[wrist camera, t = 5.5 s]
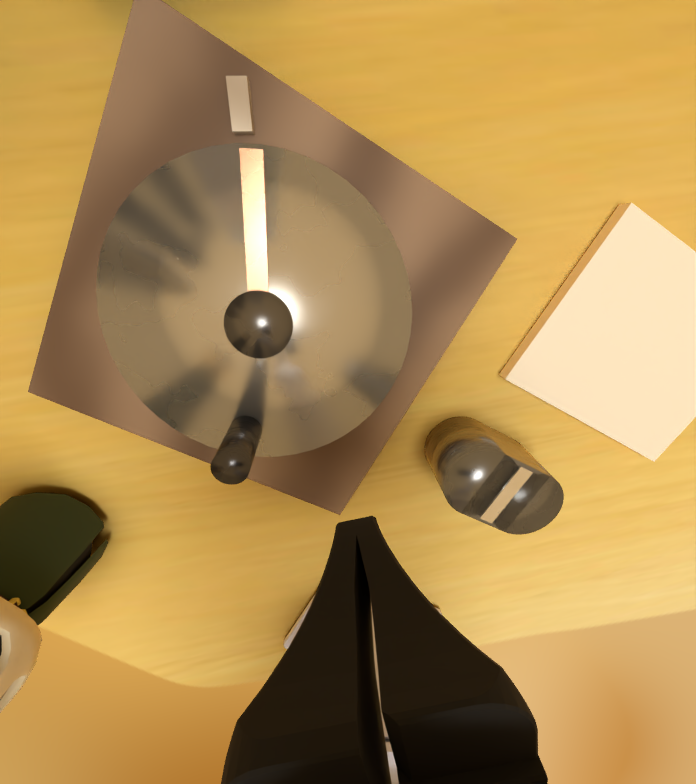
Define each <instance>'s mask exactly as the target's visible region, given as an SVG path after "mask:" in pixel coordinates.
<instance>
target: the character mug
mask: <svg viewBox="0 0 696 784" xmlns="http://www.w3.org/2000/svg"><path fill="white" fill-rule="evenodd" d="M103 528H104V524H103V521H102V520H101V519H100V518H99V517H98V516H97V515H96V514H95V512H94V511H93V510H92V509H91V508H90V507H89V506H87V505H85V504H83V503H82V502H80V501H78V500H76V499H74V498H72V497H70V496H68V495H66V494H52V493H37V492H36V493H31V494H25V495H20V496H14V497H11V498H10V499H9V500H8V501H6V502H5V503H4V504H2V505H1V506H0V712H1V711H2V710H3V709H4V708H5V707H6V706H7V705H8V704H9V703H10V701H11V700H12V699H13V698H14V696H15V695H16V694H17V693H18V692H19V690H20V689H21V688H22V687H23V685H24V683H25V681H26V680H27V678H28V676H29V675H30V673H31V671H32V670H33V668H34V666H35V663H36V660H37V657H38V653H39V649H40V645H41V641H42V638H41V632H40V629H39V628H38V626H37V625H39V624H40V623H42V622H43V621H44V620H45V619H46V618H47V617H48V616H49V615H50V613H51V612H52V611H53V610H54V609H55V608H56V607H57V606H58V605H59V604H60V603H61V602H62V601H63V600H64V599H65V598H66V596H67V595H68V594H69V593H70V592H71V591H72V590H73V589H74V588H75V587H76V586H77V585H78V584H79V583H80V582H81V580H82V579H83V578H84V577H85V576H86V575H87V573H88V572H89V571H90V570H91V569H92V567H93V566H94V565H95V564H96V563H97V562H98V560H99V559H100V558H101V557H102V555H103V552H104V550H105V548H106V546H107V544H108V541H107V539H106V540H105V541H104V542H103V543H102V544H101V545H100V547H99V548H98V549H97V550H96V551H95V552H94V553H93V554H92V556H91V550H92V541H93V540H94V538H95V537H96V536H97V535H98V534H99V533H100V531H101V530H102V529H103ZM90 556H91V557H90Z"/></svg>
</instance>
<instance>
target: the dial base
mask: <svg viewBox="0 0 696 784" xmlns="http://www.w3.org/2000/svg"><path fill="white" fill-rule="evenodd" d="M233 143H245V144H262V145H267V146H273V147H278V148H283V149H286V150H289V151H292V152H295V153H298V154H301V155H304V156H307V157H309V158H311V159H313V160H314V161H316V162H318V163H320V164H322V165H324V166H326V167H328V168H330V169H331V170H332V171H334V172H335V173H337V174H338V175H340V176H341V177H343V178H344V179H345V180H347V181H348V182H349V183H350V184H351V185H352V186H354V187H355V188H356V189H357V190H358V191H359V192H360V193H361V194H362V195H363V196H364V197H365V198H366V199H367V200H368V201H369V202H370V204H371V205H372V206H373V207H374V208H375V210H376V211H377V212H378V213H379V214H380V216H381V218H382V219H383V221H384V222H385V224H386V225H387V227H388V229H389V230H390V232H391V233H392V235H393V237H394V240H395V242H396V244H397V246H398V248H399V250H400V253H401V255H402V258H403V261H404V265H405V268H406V271H407V274H408V280H409V285H410V291H411V302H412V323H411V334H410V339H409V344H408V349H407V353H406V356H405V359H404V362H403V365H402V367H401V370H400V372H399V374H398V376H397V378H396V380H395V382H394V384H393V386H392V388H391V389H390V391H389V392H388V394H387V395H386V397H385V398H384V400H383V401H382V402H381V403H380V405H379V406H378V407H377V408H376V409H375V410H374V411H373V413H372V414H371V415H370V416H369V417H367V418H366V419H365V420H364V421H363V422H362V423H361V424H360V425H358V426H357V427H356V428H354V429H353V430H351V431H350V432H349V433H347V434H346V435H344V436H342V437H341V438H339V439H337V440H335V441H333V442H331V443H329V444H327V445H324V446H321V447H319V448H316V449H314V450H310V451H306V452H302V453H298V454H293V455H286V456H278V457H257V456H254V460H253V463H252V466H251V469H250V472H249V475H248V477H247V478H248V479H250V480H253V481H255V482H258V483H260V484H263V485H265V486H268V487H271V488H273V489H276V490H278V491H281V492H283V493H286V494H288V495H291V496H293V497H296V498H298V499H301V500H304V501H306V502H309V503H311V504H314V505H316V506H319V507H321V508H324V509H326V510H329V511H331V512H334V513H336V514H339V515H340V514H341V512H342V511H343V509H344V508H345V506H346V505H347V503H348V501H349V500H350V498H351V497H352V495H353V494H354V492H355V491H356V489H357V487H358V486H359V484H360V483H361V481H362V480H363V478H364V477H365V475H366V473H367V472H368V470H369V469H370V467H371V466H372V464H373V463H374V461H375V459H376V458H377V456H378V455H379V453H380V452H381V450H382V449H383V447H384V445H385V444H386V442H387V441H388V439H389V438H390V436H391V435H392V433H393V432H394V430H395V428H396V427H397V425H398V424H399V422H400V421H401V419H402V418H403V416H404V414H405V413H406V411H407V410H408V408H409V407H410V405H411V404H412V402H413V400H414V399H415V397H416V396H417V394H418V393H419V391H420V390H421V388H422V386H423V385H424V383H425V382H426V380H427V379H428V377H429V376H430V374H431V372H432V371H433V369H434V368H435V366H436V365H437V363H438V362H439V360H440V358H441V357H442V355H443V354H444V352H445V351H446V349H447V348H448V346H449V344H450V343H451V341H452V340H453V338H454V337H455V335H456V334H457V332H458V330H459V329H460V327H461V326H462V324H463V323H464V321H465V320H466V318H467V316H468V315H469V313H470V312H471V310H472V309H473V307H474V306H475V304H476V302H477V301H478V299H479V298H480V296H481V295H482V293H483V292H484V290H485V288H486V287H487V285H488V284H489V282H490V281H491V279H492V278H493V276H494V274H495V273H496V271H497V270H498V268H499V267H500V265H501V264H502V262H503V260H504V259H505V257H506V256H507V254H508V253H509V251H510V250H511V248H512V246H513V245H514V243H515V242H516V240H517V238H515V237H514V236H512V235H511V234H509V233H508V232H506V231H505V230H503V229H502V228H500V227H499V226H497V225H496V224H494V223H493V222H491V221H490V220H488V219H487V218H485V217H484V216H482V215H481V214H479V213H478V212H476V211H475V210H473V209H472V208H470V207H469V206H467V205H466V204H464V203H463V202H461V201H460V200H458V199H457V198H455V197H454V196H452V195H451V194H449V193H448V192H446V191H445V190H443V189H442V188H440V187H439V186H437V185H436V184H434V183H433V182H431V181H430V180H428V179H427V178H425V177H424V176H423V175H421V174H420V173H418V172H417V171H415V170H414V169H412V168H411V167H409V166H408V165H406V164H405V163H403V162H402V161H400V160H399V159H397V158H396V157H394V156H393V155H391V154H390V153H388V152H387V151H385V150H384V149H382V148H381V147H379V146H378V145H376V144H375V143H373V142H372V141H370V140H369V139H367V138H366V137H364V136H363V135H361V134H360V133H358V132H357V131H355V130H354V129H352V128H351V127H349V126H348V125H346V124H345V123H343V122H342V121H340V120H339V119H337V118H336V117H334V116H333V115H331V114H330V113H328V112H327V111H326V110H324V109H323V108H321V107H320V106H318V105H317V104H315V103H314V102H312V101H311V100H309V99H308V98H306V97H305V96H303V95H302V94H300V93H299V92H297V91H296V90H294V89H293V88H291V87H290V86H288V85H287V84H285V83H284V82H282V81H281V80H279V79H278V78H276V77H275V76H273V75H272V74H270V73H269V72H267V71H266V70H264V69H263V68H261V67H260V66H258V65H257V64H255V63H254V62H252V61H251V60H249V59H248V58H246V57H245V56H243V55H242V54H240V53H239V52H237V51H236V50H234V49H233V48H231V47H230V46H228V45H227V44H226V43H224V42H223V41H221V40H220V39H218V38H217V37H215V36H214V35H212V34H211V33H209V32H208V31H206V30H205V29H203V28H202V27H200V26H199V25H197V24H196V23H194V22H193V21H191V20H190V19H188V18H187V17H185V16H184V15H182V14H181V13H179V12H178V11H176V10H175V9H173V8H172V7H170V6H169V5H167V4H166V3H164V2H163V1H161V0H134V1H133V5H132V9H131V12H130V16H129V20H128V23H127V27H126V31H125V34H124V38H123V42H122V46H121V49H120V53H119V57H118V60H117V64H116V68H115V71H114V75H113V79H112V83H111V86H110V90H109V94H108V97H107V101H106V105H105V109H104V112H103V116H102V120H101V123H100V127H99V131H98V134H97V138H96V142H95V146H94V149H93V153H92V157H91V160H90V164H89V168H88V172H87V175H86V179H85V183H84V186H83V190H82V194H81V197H80V201H79V205H78V209H77V212H76V216H75V220H74V223H73V227H72V231H71V234H70V238H69V242H68V246H67V249H66V253H65V257H64V260H63V264H62V268H61V272H60V275H59V279H58V283H57V286H56V290H55V294H54V297H53V301H52V305H51V309H50V312H49V316H48V320H47V323H46V327H45V331H44V334H43V338H42V342H41V346H40V349H39V353H38V357H37V360H36V364H35V368H34V372H33V375H32V379H31V383H30V386H29V390H28V392H30V393H32V394H35V395H37V396H40V397H42V398H45V399H48V400H50V401H53V402H55V403H58V404H60V405H63V406H65V407H68V408H70V409H73V410H75V411H78V412H80V413H83V414H86V415H88V416H91V417H93V418H96V419H98V420H101V421H103V422H106V423H108V424H111V425H113V426H116V427H118V428H121V429H124V430H126V431H129V432H131V433H134V434H136V435H139V436H141V437H144V438H146V439H149V440H151V441H154V442H157V443H159V444H162V445H164V446H167V447H169V448H172V449H174V450H177V451H179V452H182V453H184V454H187V455H189V456H192V457H195V458H197V459H200V460H202V461H205V462H207V463H210V464H211V462H212V460H213V458H214V456H215V454H216V452H217V450H218V449H215V448H212V447H209V446H206V445H204V444H202V443H200V442H197V441H195V440H193V439H191V438H189V437H187V436H186V435H184V434H182V433H180V432H179V431H177V430H175V429H174V428H172V427H171V426H170V425H168V424H167V423H166V422H164V421H163V420H161V419H160V418H159V417H158V416H157V415H155V414H154V413H153V412H152V411H151V410H150V409H149V408H148V407H147V406H146V405H145V404H144V403H143V402H142V401H141V400H140V399H139V397H138V396H137V395H136V394H135V393H134V392H133V390H132V389H131V388H130V387H129V385H128V384H127V382H126V381H125V379H124V378H123V376H122V375H121V373H120V372H119V370H118V368H117V366H116V364H115V362H114V360H113V358H112V356H111V354H110V352H109V349H108V347H107V344H106V341H105V338H104V336H103V333H102V328H101V324H100V320H99V315H98V308H97V297H96V280H97V267H98V262H99V257H100V252H101V247H102V245H103V242H104V239H105V236H106V233H107V230H108V228H109V226H110V224H111V222H112V220H113V218H114V217H115V215H116V213H117V211H118V209H119V208H120V206H121V205H122V204H123V202H124V201H125V200H126V198H127V197H128V196H129V194H130V193H131V192H132V191H133V190H134V189H135V188H136V187H137V186H138V185H139V184H140V183H141V182H142V181H143V180H144V179H145V178H146V177H147V176H148V175H150V174H151V173H153V172H154V171H156V170H157V169H159V168H160V167H161V166H163V165H164V164H166V163H167V162H169V161H171V160H174V159H176V158H178V157H180V156H182V155H184V154H187V153H189V152H192V151H196V150H199V149H203V148H206V147H210V146H216V145H224V144H233Z"/></svg>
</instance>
